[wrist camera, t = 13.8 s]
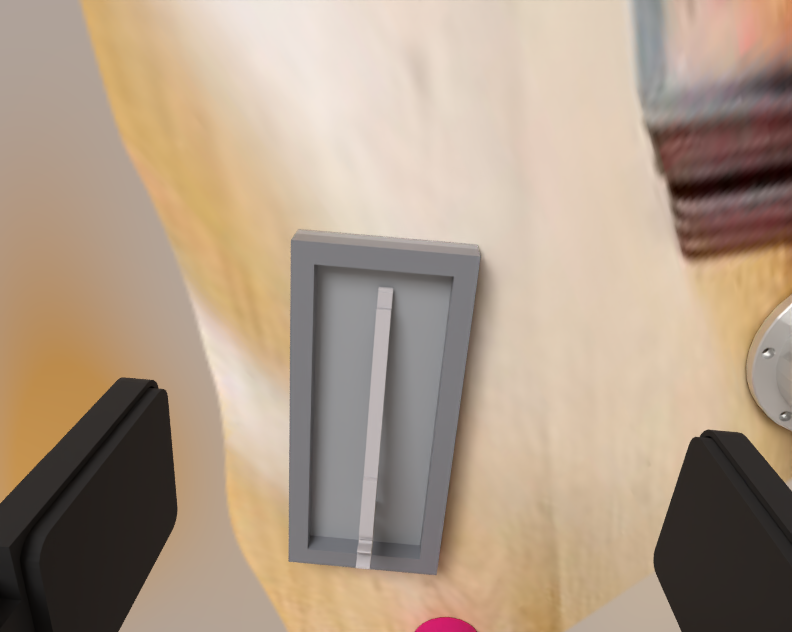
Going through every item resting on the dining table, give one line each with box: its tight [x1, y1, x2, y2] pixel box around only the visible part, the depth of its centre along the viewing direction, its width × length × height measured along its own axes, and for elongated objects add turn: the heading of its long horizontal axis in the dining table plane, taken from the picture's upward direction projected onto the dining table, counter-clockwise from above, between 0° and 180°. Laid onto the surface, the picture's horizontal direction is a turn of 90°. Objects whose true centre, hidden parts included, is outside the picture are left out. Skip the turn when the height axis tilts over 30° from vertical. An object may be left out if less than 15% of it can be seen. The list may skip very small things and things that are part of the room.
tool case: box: [289, 229, 481, 575], centre depth 45 cm, size 12×27×2 cm, turn 176°
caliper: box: [356, 287, 393, 569], centre depth 42 cm, size 20×1×6 cm, turn 176°
